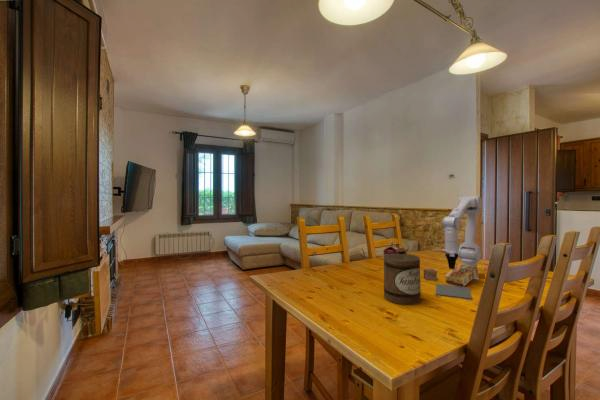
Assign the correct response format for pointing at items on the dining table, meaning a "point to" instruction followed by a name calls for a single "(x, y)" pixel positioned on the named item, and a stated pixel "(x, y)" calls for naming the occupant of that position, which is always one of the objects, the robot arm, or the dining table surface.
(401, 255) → the wooden container
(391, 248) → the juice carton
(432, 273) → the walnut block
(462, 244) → the robot arm
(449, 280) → the candy box
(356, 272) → the dining table surface
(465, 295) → the mat
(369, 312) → the dining table surface
